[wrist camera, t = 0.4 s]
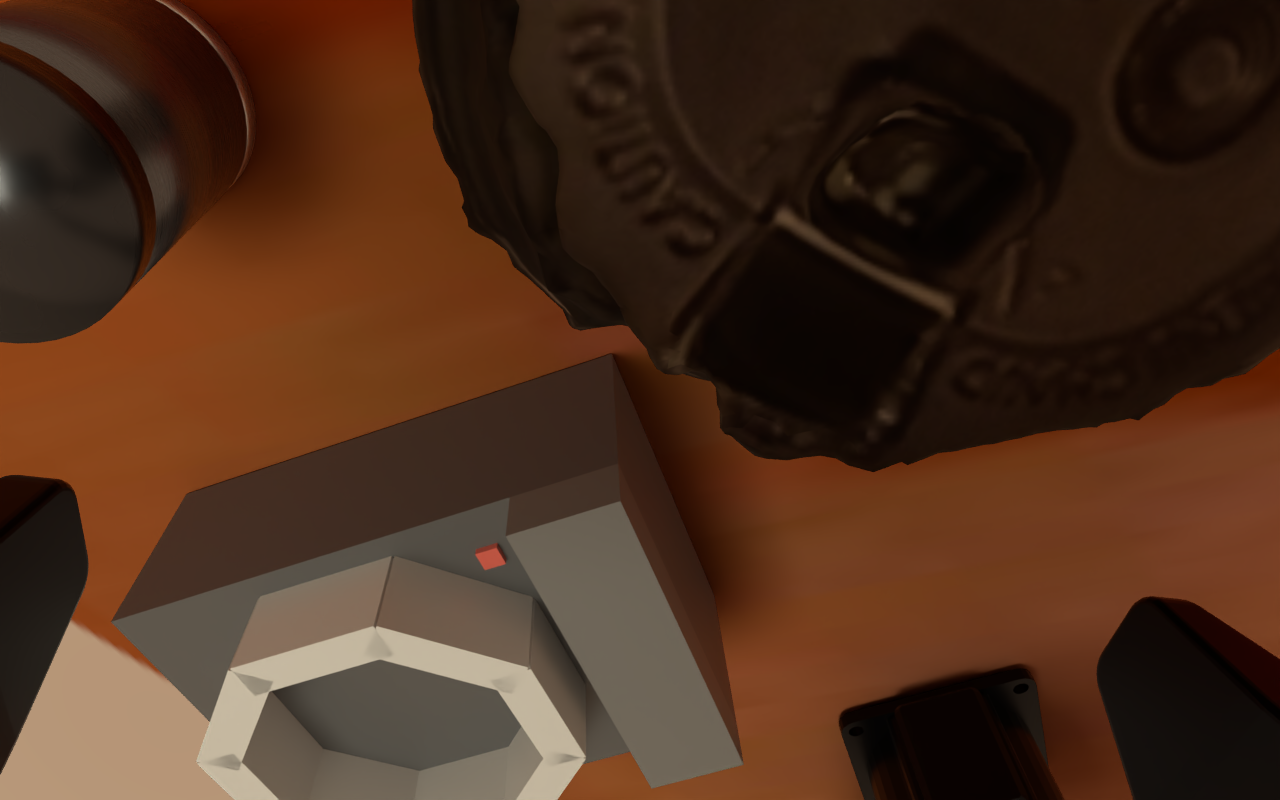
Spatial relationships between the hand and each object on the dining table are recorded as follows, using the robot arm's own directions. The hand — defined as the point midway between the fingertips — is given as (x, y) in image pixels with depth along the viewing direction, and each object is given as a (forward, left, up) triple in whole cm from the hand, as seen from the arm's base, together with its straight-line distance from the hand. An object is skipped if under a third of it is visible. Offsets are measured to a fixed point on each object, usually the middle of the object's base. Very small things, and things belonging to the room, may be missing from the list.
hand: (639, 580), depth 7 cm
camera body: (-10, +8, -14) cm, 18 cm away
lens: (+4, +9, -14) cm, 17 cm away
